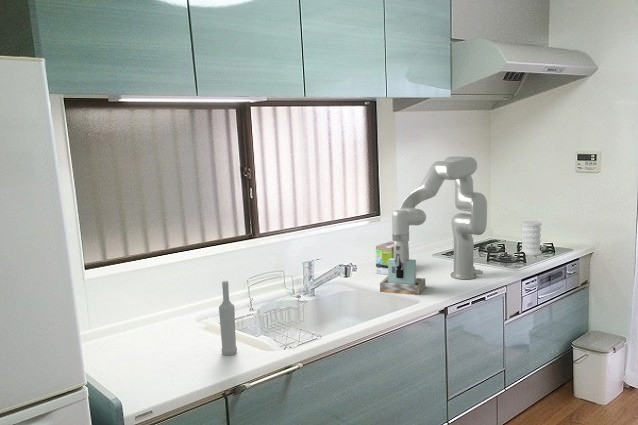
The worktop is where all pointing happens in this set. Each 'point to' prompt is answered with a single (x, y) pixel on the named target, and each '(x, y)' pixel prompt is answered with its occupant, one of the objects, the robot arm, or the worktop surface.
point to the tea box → (384, 257)
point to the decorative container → (531, 237)
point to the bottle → (227, 323)
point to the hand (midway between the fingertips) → (401, 276)
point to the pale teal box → (408, 272)
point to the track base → (403, 287)
